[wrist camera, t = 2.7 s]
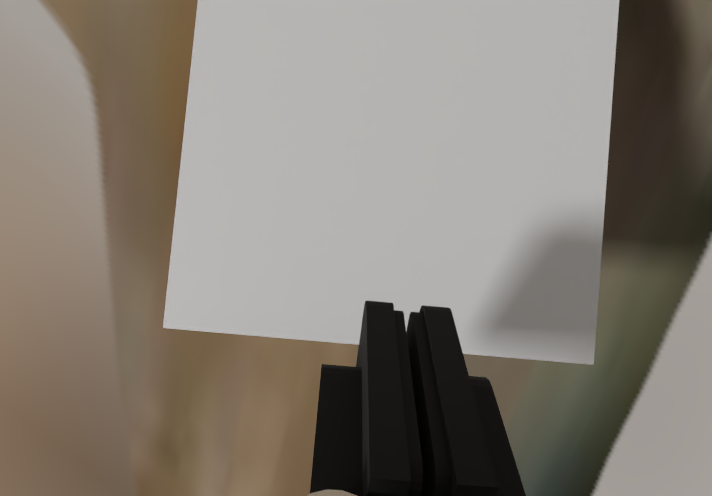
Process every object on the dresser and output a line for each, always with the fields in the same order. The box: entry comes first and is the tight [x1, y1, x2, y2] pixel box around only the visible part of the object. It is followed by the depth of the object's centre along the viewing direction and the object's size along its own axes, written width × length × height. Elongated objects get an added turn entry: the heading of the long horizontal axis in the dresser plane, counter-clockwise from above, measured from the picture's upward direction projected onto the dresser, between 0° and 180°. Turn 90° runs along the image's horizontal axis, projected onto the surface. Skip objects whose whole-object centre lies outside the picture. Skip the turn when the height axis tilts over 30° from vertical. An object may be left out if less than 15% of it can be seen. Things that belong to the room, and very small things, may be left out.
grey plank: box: [163, 0, 619, 365], centre depth 16 cm, size 16×12×2 cm
